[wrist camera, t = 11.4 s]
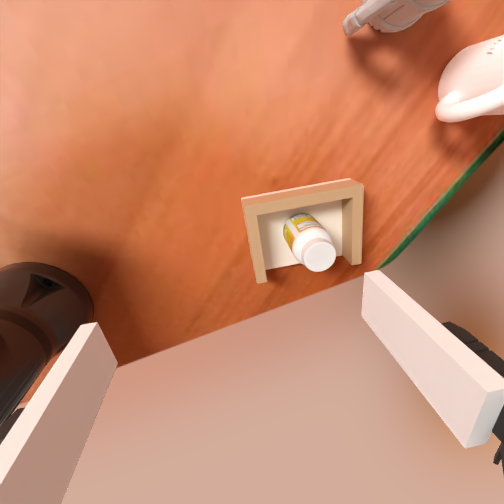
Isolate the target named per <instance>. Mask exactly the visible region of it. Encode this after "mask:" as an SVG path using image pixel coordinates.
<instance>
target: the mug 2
mask: <svg viewBox="0 0 504 504" xmlns="http://www.w3.org/2000/svg"><path fill="white" fill-rule="evenodd" d="M438 99H439V103H438V104H437V106H436V108H435V116H436V117H437V119H438V120H440V121H443V122H459V121H464V120H467V119H471V118H474V117H477V116H480V115H504V35H502V36H499V37H496V38H493V39H490V40H487V41H483V42H480V43H477V44H474V45H471V46H468V47H466V48H464V49H463V50H461V51H460V52H459V53H457V54H456V55H455V56H454V57H453V58H452V59H451V60H450V62H449V63H448V64H447V66H446V67H445V69H444V71H443V73H442V75H441V78H440V81H439V86H438Z"/></svg>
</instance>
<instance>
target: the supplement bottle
mask: <svg viewBox="0 0 504 504" xmlns="http://www.w3.org/2000/svg"><path fill="white" fill-rule="evenodd" d="M283 236H284V238H285V240H286V242H287V244H288V246H289V248H290V250H291V251H292V253H293V255H294V257H295V258H296V260H297V261H298V262H299V263H301V264H303V265H305V266H306V267H307V268H308V269H310V270H312V271H316V272H320V271H324V270H326V269H328V268H329V267H330V266H331V265H332V264H333V263H334V261H335V259H336V250H335V248H334V247H333V240H332V237H331V235H330V234H329V233H328V232H327V231H326V230H325V228H324V227H323V226H322V225H321V224H320V223H319V222H318V221H317V220H316V219H315V218H314V217H313V216H311V215H310V214H307V213H296V214H293V215H292V216H290V217H289V218H288V219H287V220H286V222H285V223H284V226H283Z"/></svg>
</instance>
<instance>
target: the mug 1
mask: <svg viewBox="0 0 504 504" xmlns="http://www.w3.org/2000/svg"><path fill="white" fill-rule="evenodd" d="M448 1H450V0H362V6H360V7H359V8H357V9H356V10H355V11H353V12H352V13H350V14H349V15H348V16H347V17H346V19H345V20H344V21H343V31H344V33H345V35H348V36H350V35H352V34H353V33H355V32H357V31H358V30H359V29H360V28H362V27H363V26H364V25H365V24H367V23H369V24H370V25H371V26H373V28H374V29H375V30H379V29H380V32H384V33H388V32H391V33H392V32H399V31H402V30H404V29H406V28H408V27H410V26H411V25H413V24H414V23H415V22H417V21H418V20H419V19H420V18H421V16H422V15H423V14H424V13H427V12H430V11H433V10H435V9H437V8H439V7H441V6H443V5H444V4H446V3H447V2H448Z"/></svg>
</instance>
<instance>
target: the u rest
mask: <svg viewBox="0 0 504 504" xmlns="http://www.w3.org/2000/svg"><path fill="white" fill-rule="evenodd" d="M363 199H364V184H362V183H360V182H357V181H355V180H352V179H350V178H347V179H341V180H336V181H330V182H325V183H319V184H314V185H308V186H303V187H298V188H292V189H287V190H281V191H276V192H270V193H265V194H259V195H254V196H248V197H243V198H241V200H242V206H243V211H244V217H245V223H246V228H247V234H248V240H249V245H250V251H251V256H252V262H253V268H254V272H255V277H256V281H257V284H258V283H264V282H267V278H266V272H265V270H268V269H273V268H278V267H283V266H289V265H294V264H299V262H298V261H297V260H296V258H295V257H294V255H293V253H292V251H291V250H290V248H289V246H288V244H287V242H286V240H285V238H284V236H283V226H284V223H285V222H286V220H287V219H288V218H289V217H290V216H292V215H293V214H296V213H307V214H310V215H311V216H313V217H314V218H315V219H316V220H317V221H318V222H319V223H320V224H321V225H322V226H323V227H324V228H325V230H326V231H327V232H328V233H329V234H330V235H331V237H332V240H333V247H334V248H335V250H336V256H341V255H342V256H343V257H344V258H345V259H346V260H347V261H348V262H349V263H350V264H351V265H357V264H361V260H362V230H363Z"/></svg>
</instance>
